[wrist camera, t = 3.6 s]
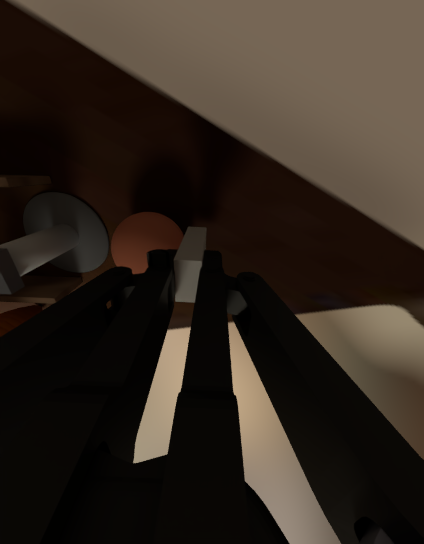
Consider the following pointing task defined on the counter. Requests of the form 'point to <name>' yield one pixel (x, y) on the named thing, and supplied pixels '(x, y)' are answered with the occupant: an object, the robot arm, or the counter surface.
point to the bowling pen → (35, 286)
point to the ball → (143, 239)
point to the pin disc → (80, 217)
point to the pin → (32, 254)
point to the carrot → (17, 317)
